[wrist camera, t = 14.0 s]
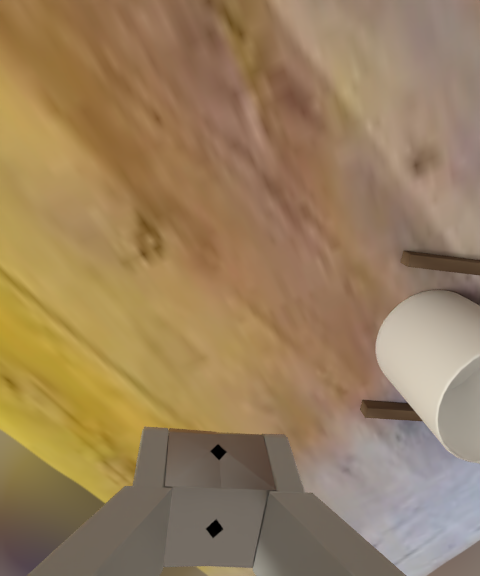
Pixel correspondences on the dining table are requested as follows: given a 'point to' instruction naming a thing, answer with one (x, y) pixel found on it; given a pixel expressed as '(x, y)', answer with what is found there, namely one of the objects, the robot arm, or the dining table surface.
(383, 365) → the cup
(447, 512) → the dining table surface
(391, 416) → the corral
